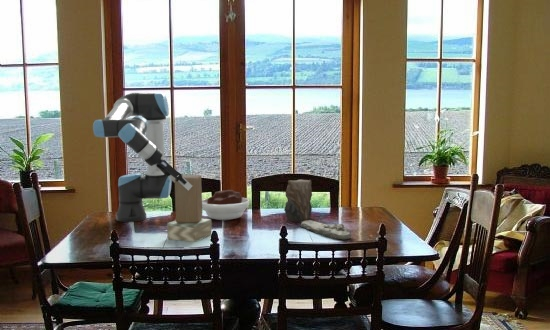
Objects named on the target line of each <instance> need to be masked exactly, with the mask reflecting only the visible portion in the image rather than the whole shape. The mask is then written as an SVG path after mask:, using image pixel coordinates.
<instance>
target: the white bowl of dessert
mask: <svg viewBox="0 0 550 330" xmlns="http://www.w3.org/2000/svg"><path fill="white" fill-rule="evenodd" d="M249 204H250V200H249V198H247V197H243V196H242V195H241V192H239V191H234V190H233V189H227V190H219V191H215V192H214V194H213V195H212V196H210V197H208V198H202V210H203V211H204V212H205V214H206V216H207V217H208V219H211V220H218V221H232V220H234V219H239V218H241V217H242V216H243V214H244V212H245V210H246V209H247V208H248V207H249Z"/></svg>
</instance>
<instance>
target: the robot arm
mask: <svg viewBox="0 0 550 330" xmlns="http://www.w3.org/2000/svg"><path fill="white" fill-rule="evenodd" d="M112 106H113V107H112V109H111V110H110V111H109V112H108V114H107V115H106V116H104V117H105V118H103V119H95V120H94V122H93V124H92V131H93V135H94V136H95V137H96V138H119V139H120V140H122V142H123V143H124V144H126V145H127V146H128V147H129V148H131V150H133V151H134V153H136V154H137V157H138V158H141V159H142V160H144V162H146V163H147V170H146V171H145V173H144V175H142V173H141V172H135V173H130V174H129V173H128V174H124V175H121V176H120V177H119V178H118V181H117V182H118V183H117V187H118V208H117V211H116V214H115V217H116V218H115V220H116V222H123V223H132V222H139V221H143V220H147V213H146V210H145V207H144V204H143V199H144V200H145V199H147V200H149V199H153V200H154V199H155V200H156V199H158V200H159V199H167V198H169V197H170V194H171V190H172V182H173V183H174V184H175V178H176V179H177V180H176V182H179V183H180V184H181V185H183V186H184V187H185V188H186V189H187V190H188V191H189V190H190V189H191V187H192V185H191V184H190V183H189V182H188V181H187V180H186V179H185V178H184V177H183V176H182V175H183V174H181V173H180V172H179V171H178V170H177V169H175V168H174V167H173V166H171V165H170V164H169V163H168V162H167V161H166V160H165V142H164V141H165V140H164V138H165V137H164V122H165V121H166V120H167V119H166V117H168V116H169V114H170V112H169V109H170V108H169V104H168V99H167V96H166V94H165V93H164V92H158V91H157V92H155V91H153V92H152V91H151V92H131V93H128V94H125V95H123V96H121V97H119V98H118V99H117V100H116V101H115V103H113V105H112ZM130 117H132V118H131V119H128V118H130Z"/></svg>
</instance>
